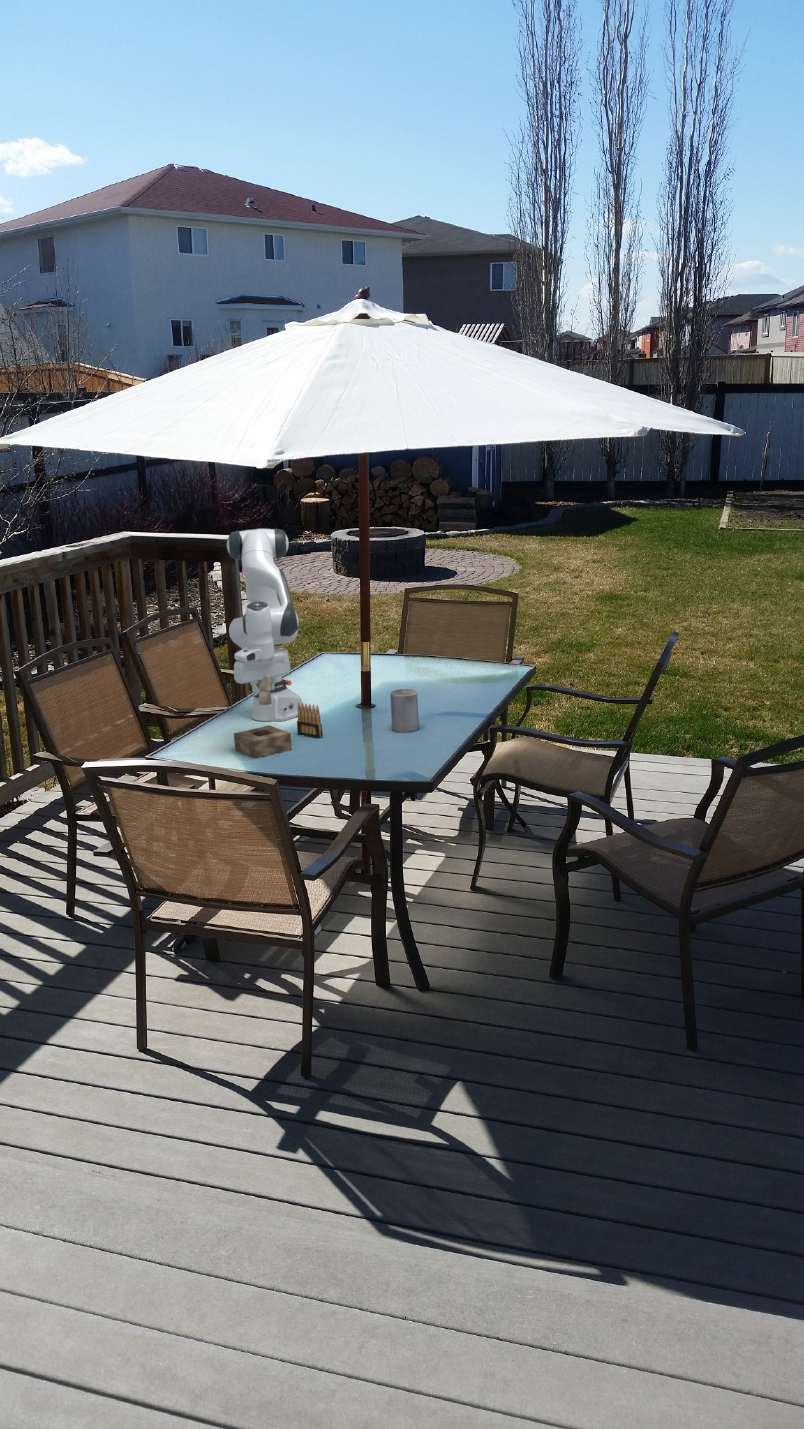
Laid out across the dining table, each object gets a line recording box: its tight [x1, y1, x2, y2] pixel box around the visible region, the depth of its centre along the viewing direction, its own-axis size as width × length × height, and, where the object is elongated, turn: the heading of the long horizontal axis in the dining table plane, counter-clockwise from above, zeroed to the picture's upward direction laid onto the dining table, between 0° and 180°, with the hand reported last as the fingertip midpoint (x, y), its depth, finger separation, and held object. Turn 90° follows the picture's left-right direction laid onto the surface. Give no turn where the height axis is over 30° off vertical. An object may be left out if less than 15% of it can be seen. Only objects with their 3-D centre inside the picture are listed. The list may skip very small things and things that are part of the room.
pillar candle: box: [390, 688, 420, 734], centre depth 380 cm, size 10×10×15 cm
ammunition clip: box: [296, 702, 324, 740], centre depth 377 cm, size 11×2×12 cm, turn 52°
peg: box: [258, 675, 271, 705], centre depth 359 cm, size 4×4×10 cm
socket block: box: [233, 724, 293, 759], centre depth 364 cm, size 14×14×6 cm
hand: (264, 691), depth 359 cm, fingers closed on peg, 4 cm apart
